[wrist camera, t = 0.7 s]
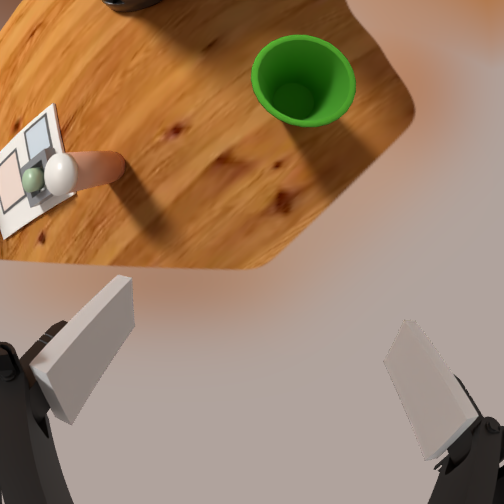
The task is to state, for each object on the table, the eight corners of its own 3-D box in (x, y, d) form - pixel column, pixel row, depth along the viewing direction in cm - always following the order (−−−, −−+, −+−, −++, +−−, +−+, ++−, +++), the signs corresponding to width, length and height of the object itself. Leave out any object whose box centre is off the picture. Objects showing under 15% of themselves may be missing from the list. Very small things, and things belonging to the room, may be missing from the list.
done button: (30, 173, 31) (20, 174, 29) (42, 163, 31) (32, 164, 28) (35, 193, 32) (25, 196, 30) (48, 184, 32) (37, 186, 29)
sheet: (-13, 167, 33) (-15, 168, 32) (55, 103, 30) (52, 103, 29) (5, 238, 38) (3, 240, 37) (76, 193, 34) (73, 194, 34)
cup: (323, 144, 31) (348, 138, 21) (249, 129, 31) (241, 115, 21) (334, 79, 28) (361, 49, 18) (262, 64, 28) (260, 26, 18)
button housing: (29, 167, 32) (20, 168, 30) (54, 147, 32) (44, 148, 29) (39, 204, 35) (30, 208, 32) (64, 188, 34) (55, 191, 31)
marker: (97, 158, 33) (40, 164, 21) (121, 145, 32) (66, 145, 21) (106, 186, 34) (50, 202, 23) (130, 175, 33) (77, 186, 22)
